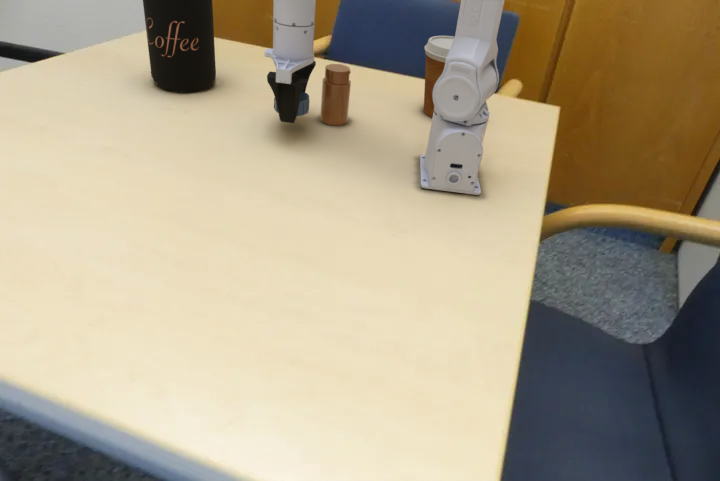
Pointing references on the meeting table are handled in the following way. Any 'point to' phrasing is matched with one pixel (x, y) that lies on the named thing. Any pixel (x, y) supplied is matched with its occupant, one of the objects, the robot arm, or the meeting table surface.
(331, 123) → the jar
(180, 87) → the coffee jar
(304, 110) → the lid
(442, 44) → the disposable coffee cup
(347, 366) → the meeting table surface
